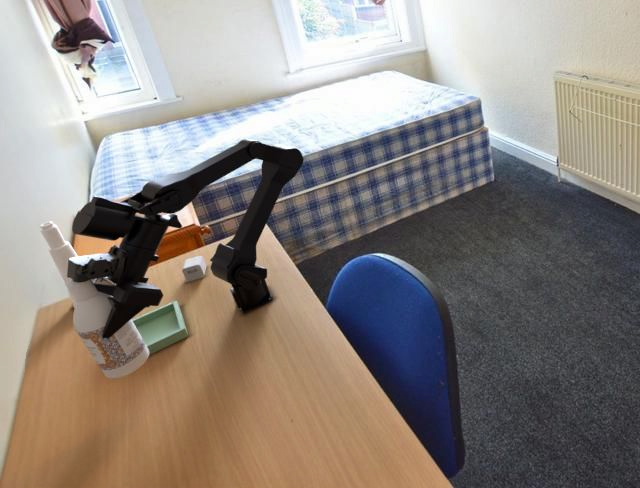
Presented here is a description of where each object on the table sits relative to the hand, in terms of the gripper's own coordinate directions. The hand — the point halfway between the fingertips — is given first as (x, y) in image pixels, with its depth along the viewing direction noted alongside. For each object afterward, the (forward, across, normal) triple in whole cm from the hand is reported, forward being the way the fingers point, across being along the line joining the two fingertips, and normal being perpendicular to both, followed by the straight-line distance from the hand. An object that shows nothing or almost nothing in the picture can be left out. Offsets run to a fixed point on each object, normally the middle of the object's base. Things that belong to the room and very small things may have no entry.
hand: (96, 331), depth 83 cm
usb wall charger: (-8, -25, +28) cm, 39 cm away
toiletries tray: (+4, -11, +16) cm, 20 cm away
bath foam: (+6, 0, +8) cm, 10 cm away
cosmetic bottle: (+5, -40, +15) cm, 43 cm away
